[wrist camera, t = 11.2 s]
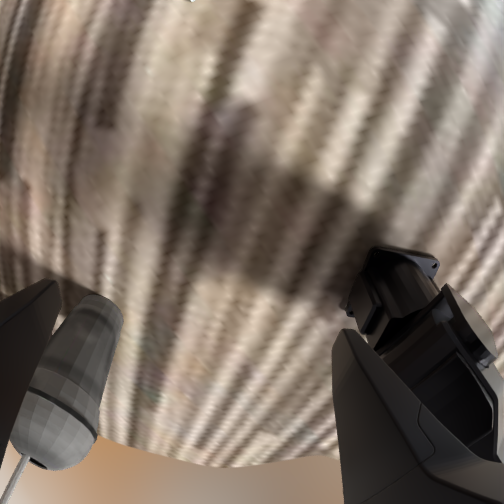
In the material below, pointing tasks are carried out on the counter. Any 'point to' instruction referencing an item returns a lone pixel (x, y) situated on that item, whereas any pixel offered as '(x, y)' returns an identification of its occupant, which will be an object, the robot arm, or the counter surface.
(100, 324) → the beverage cup
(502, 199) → the counter surface
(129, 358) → the counter surface
